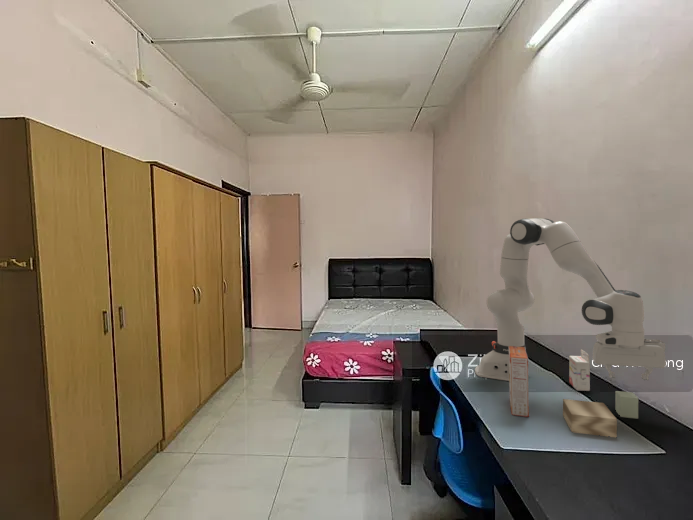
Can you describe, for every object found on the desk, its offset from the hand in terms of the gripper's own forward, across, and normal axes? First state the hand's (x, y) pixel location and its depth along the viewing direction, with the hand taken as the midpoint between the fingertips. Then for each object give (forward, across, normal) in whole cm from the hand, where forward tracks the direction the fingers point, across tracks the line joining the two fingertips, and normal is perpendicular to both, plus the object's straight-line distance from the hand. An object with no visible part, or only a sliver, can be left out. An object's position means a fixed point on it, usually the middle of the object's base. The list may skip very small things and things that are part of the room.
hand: (628, 378), depth 128 cm
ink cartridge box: (+12, +10, -23) cm, 28 cm away
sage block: (+13, 0, 0) cm, 13 cm away
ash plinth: (+13, +15, +12) cm, 23 cm away
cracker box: (+12, +35, +4) cm, 37 cm away
